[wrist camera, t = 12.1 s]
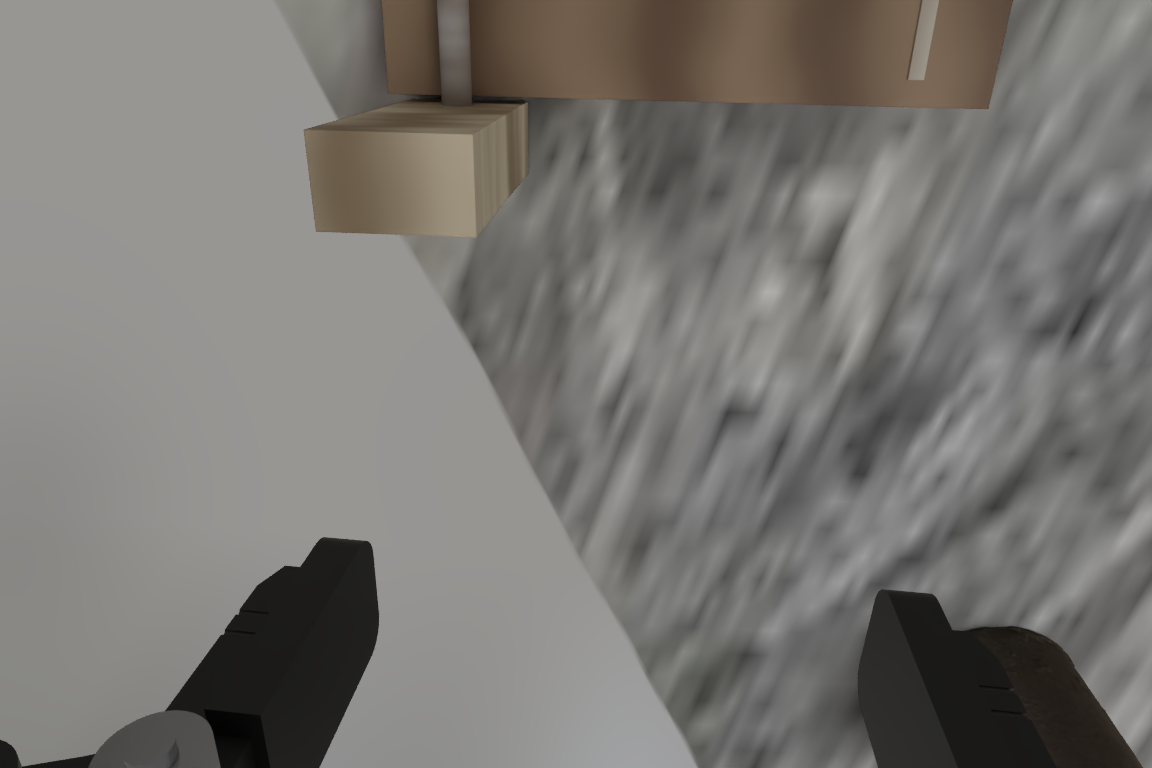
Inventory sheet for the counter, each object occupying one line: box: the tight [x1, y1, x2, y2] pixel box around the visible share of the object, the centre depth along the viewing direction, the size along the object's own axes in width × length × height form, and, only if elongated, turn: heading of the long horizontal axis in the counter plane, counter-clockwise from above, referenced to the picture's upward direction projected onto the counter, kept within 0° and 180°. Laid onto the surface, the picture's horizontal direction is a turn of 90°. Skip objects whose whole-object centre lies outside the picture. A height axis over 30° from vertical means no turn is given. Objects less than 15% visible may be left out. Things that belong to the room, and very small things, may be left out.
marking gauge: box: [304, 0, 528, 237], centre depth 27 cm, size 5×13×12 cm, turn 179°
